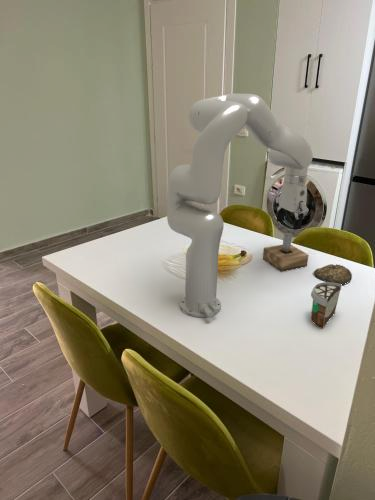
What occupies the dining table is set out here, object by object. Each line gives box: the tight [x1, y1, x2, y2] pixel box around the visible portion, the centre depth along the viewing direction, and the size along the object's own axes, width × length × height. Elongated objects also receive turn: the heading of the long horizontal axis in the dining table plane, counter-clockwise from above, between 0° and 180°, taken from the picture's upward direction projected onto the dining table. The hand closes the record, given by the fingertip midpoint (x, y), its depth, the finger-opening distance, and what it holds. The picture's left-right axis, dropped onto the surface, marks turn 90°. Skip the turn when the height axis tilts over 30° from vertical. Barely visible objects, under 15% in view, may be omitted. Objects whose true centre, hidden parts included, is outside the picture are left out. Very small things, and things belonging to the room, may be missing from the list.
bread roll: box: [312, 264, 353, 285], centre depth 135 cm, size 13×12×5 cm
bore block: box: [262, 244, 309, 273], centre depth 145 cm, size 12×12×5 cm
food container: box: [310, 281, 342, 329], centre depth 109 cm, size 12×6×10 cm, turn 141°
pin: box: [282, 232, 293, 254], centre depth 143 cm, size 3×3×11 cm
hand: (288, 225), depth 139 cm, fingers open, 9 cm apart
